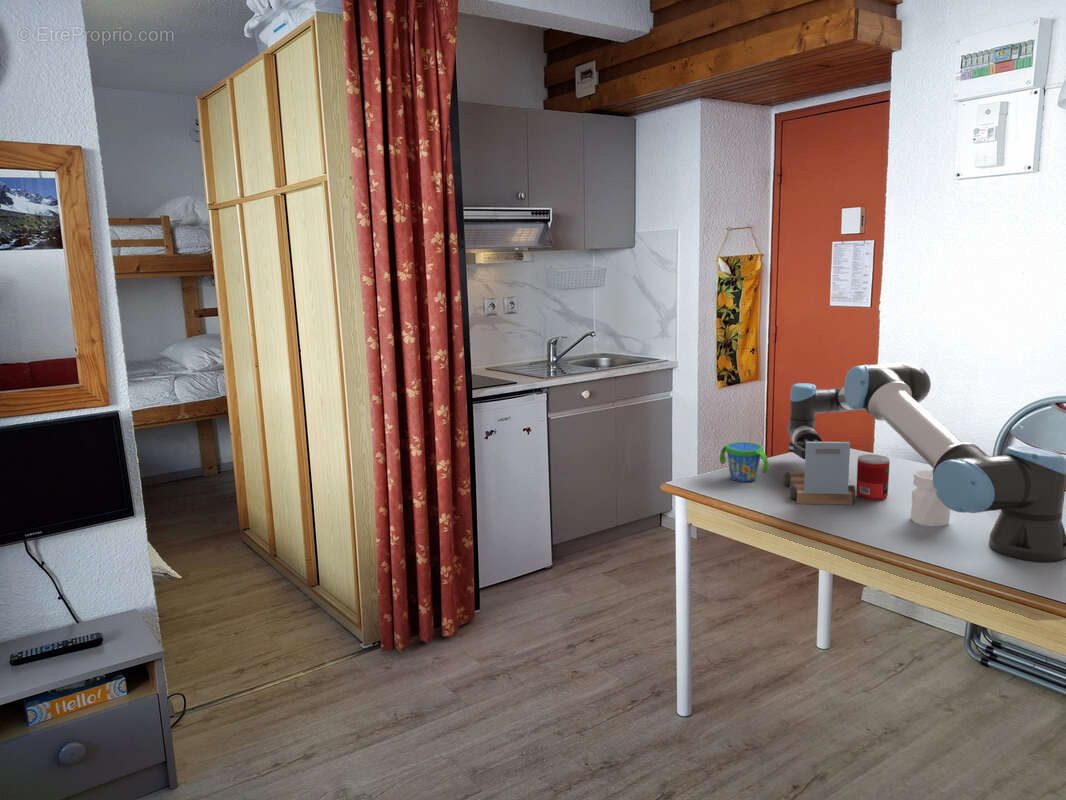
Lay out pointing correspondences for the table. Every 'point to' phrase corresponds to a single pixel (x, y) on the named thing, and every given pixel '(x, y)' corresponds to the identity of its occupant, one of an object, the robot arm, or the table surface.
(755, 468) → the snack cup
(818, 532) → the table surface
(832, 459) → the grey flat slab
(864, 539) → the table surface
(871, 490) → the canned food
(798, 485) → the flatbed
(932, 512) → the vase
